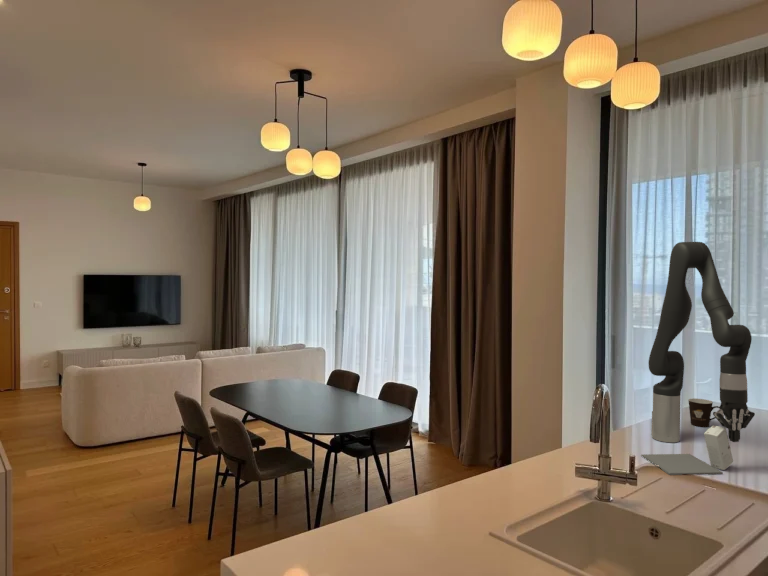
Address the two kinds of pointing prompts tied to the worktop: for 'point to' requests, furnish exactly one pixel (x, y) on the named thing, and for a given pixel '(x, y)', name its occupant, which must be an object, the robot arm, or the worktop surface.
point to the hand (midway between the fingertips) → (734, 441)
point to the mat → (681, 464)
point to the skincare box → (718, 447)
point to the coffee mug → (700, 412)
